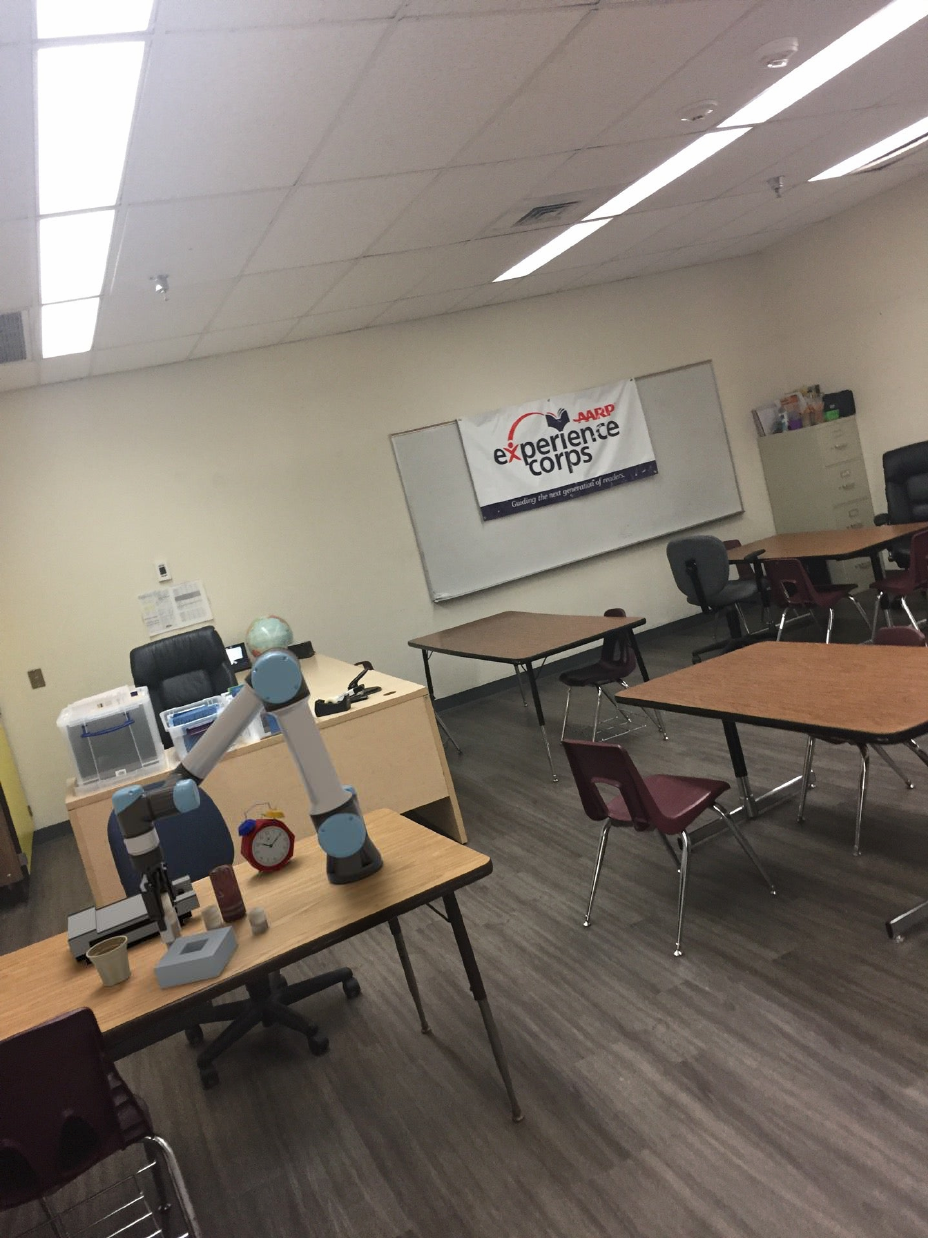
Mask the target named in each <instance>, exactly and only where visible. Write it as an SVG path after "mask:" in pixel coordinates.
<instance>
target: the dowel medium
mask: <svg viewBox="0 0 928 1238" xmlns="http://www.w3.org/2000/svg"><path fill="white" fill-rule="evenodd" d="M200 915H201V917H202V920H203V923H204V927H205V931H206V932H207V931H211V930H215V929H220V928H224V927H225V926H224V924H223V919H222V916H221V913H220V909H219V906H218V904H217V905H216V904H213V905H208V906H206V907H204V908H202V909H201V911H200Z"/></svg>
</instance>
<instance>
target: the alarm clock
mask: <svg viewBox="0 0 928 1238" xmlns="http://www.w3.org/2000/svg"><path fill="white" fill-rule="evenodd" d="M259 805H268V808H269V809H268V810H267V812H266V813H264V812H260V816H261V818H257V819H253V818H249V819H248V817H247V813H248V812H249V811H250V810H251V809H253V808H254V807H256V806H259ZM243 813H244V818H245V819H244V820H243V821H242V820H241V822H240V823H241V824H239V826H238V827H237V832H238V837H241V843H240V854H241V856H242V857H243V858H244V859H245V860H246V861H247V862H248V864H250V866H251V867H252V868H253V869H255V870H257V875H258V876H259V877H260V876H261V874H262V872H272V871H280V869H282V868H283V867H284V866H285V865H286V864H288V862H292V857H294V852H295V839H296V835H295V834H294V833H293V831H292V830H290V828H289V827H288V826H287V825H286V823H285V822H284V821H282V820H280V819H285V818H286V815H285V814H284V812H283V811H282V810H279V809H277V807H276V806H274V808H273V807H272V806H271V804H270V802H269V801H267V802H258V803H254V804H253V805H251V807H249V808H248V809H246V810H245V811H244V812H243ZM263 817H264V818H263Z"/></svg>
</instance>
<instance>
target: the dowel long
mask: <svg viewBox="0 0 928 1238" xmlns="http://www.w3.org/2000/svg"><path fill="white" fill-rule="evenodd" d="M160 895H161V900H162V904H163V909H164V914H165V916H166V915H167V917H168V920H169V923H170V926H171V929H172V932H173V935H174V938H175V940H176V939H177V938H180V937H183V936H182V934H181V933H182V932H180V929H179V926H178V923H177V920H176V917H175V914H174V911H173V908H172V904H171V901H170V898H169V895H168V893H167V892H164V893H160ZM175 940H174V941H175ZM174 941H172V942H168V943H165V946H166V949H167V950H168V949H169V948H170V947H171V945H172V944H173V943H174Z"/></svg>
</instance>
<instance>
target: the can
mask: <svg viewBox="0 0 928 1238" xmlns="http://www.w3.org/2000/svg"><path fill="white" fill-rule="evenodd" d="M208 877H209V880H210V883H211V886H212V889H213V892H214V895H215V898H216V902H217V907H218V910H219V913H220V916H221V920H222V922H225V923H227V924H229V923H235V922H237V921H240V920H241V919H243V918H244V917H245V916H246V915H247V908H246V906H245V905H246V904H245V902H244V899H243V896H242V893H241V889H240V887H239V886H240V885H239V883H238V879H237V877H236V873H235V870H234V866H233V865H232V864H231V863H230V862H223V863H219V864H217V865H214V866H213V867H211V868H210V869H209V871H208Z"/></svg>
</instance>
